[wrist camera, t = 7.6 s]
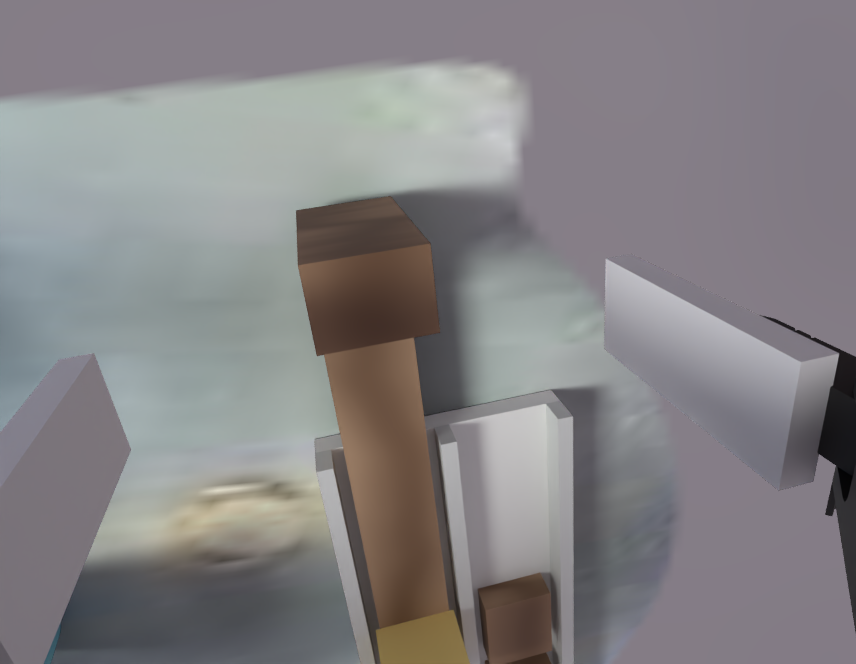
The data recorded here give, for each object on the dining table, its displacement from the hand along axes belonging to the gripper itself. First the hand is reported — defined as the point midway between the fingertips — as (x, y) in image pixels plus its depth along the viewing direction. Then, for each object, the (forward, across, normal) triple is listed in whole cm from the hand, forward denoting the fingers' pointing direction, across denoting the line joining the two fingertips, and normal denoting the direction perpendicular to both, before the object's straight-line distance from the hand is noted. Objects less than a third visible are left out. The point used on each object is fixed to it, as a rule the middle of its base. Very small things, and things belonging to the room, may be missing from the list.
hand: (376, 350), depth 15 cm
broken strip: (+11, +7, -30) cm, 32 cm away
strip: (+11, +1, -13) cm, 18 cm away
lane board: (+13, +4, -24) cm, 28 cm away
